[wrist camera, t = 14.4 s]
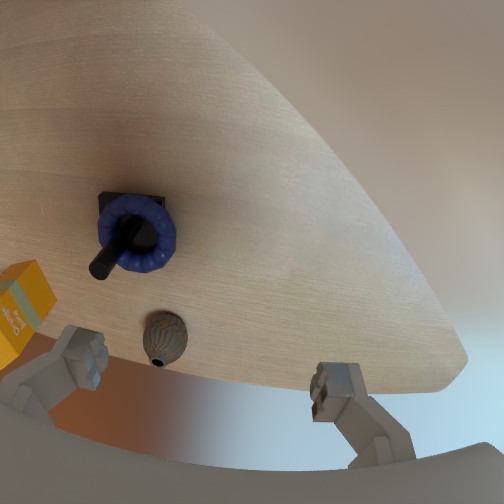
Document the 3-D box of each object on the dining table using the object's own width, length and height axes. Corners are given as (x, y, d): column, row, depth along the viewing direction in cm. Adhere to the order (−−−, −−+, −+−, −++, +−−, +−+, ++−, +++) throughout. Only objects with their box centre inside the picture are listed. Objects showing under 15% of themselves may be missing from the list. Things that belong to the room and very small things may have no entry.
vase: (147, 304, 47) (130, 344, 40) (189, 309, 47) (178, 350, 40) (152, 335, 51) (139, 374, 43) (192, 340, 51) (182, 380, 43)
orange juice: (36, 259, 44) (-32, 337, 27) (57, 300, 48) (3, 382, 31) (11, 264, 45) (-52, 335, 27) (31, 303, 49) (-20, 377, 32)
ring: (100, 188, 36) (92, 195, 34) (180, 197, 37) (175, 204, 35) (105, 260, 42) (99, 269, 40) (176, 271, 42) (172, 281, 40)
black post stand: (102, 191, 38) (58, 229, 28) (165, 196, 38) (133, 238, 29) (107, 249, 43) (71, 297, 33) (164, 257, 43) (139, 310, 33)
